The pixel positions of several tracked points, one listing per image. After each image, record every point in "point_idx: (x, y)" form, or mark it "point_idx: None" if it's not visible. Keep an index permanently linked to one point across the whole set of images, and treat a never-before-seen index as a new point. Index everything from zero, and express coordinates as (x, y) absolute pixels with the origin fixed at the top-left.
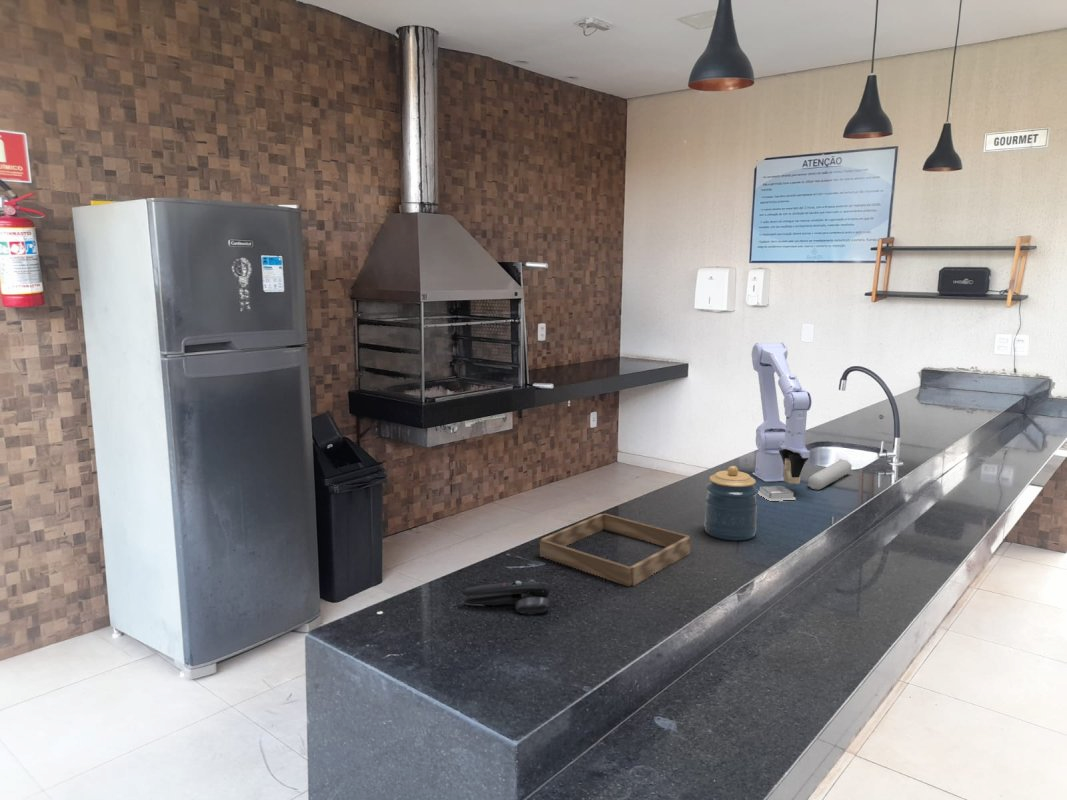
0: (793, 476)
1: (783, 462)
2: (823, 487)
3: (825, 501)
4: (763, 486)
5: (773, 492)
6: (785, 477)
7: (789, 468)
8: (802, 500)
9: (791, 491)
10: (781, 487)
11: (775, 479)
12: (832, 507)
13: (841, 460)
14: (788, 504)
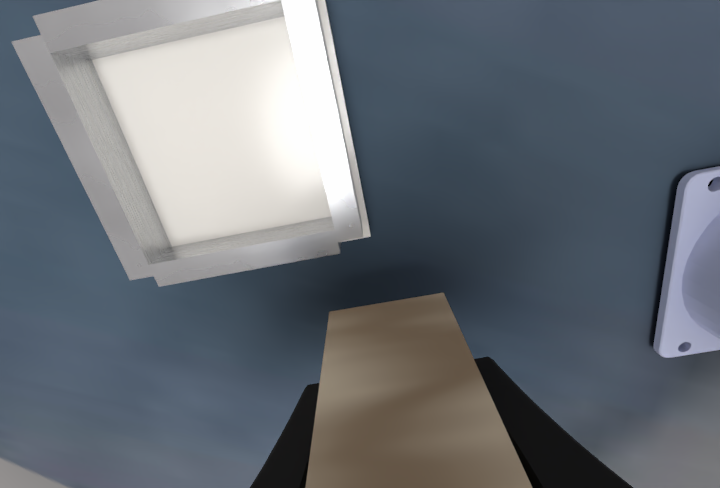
0: (300, 398)
1: (586, 463)
2: None
3: (200, 428)
4: (316, 28)
5: (290, 138)
6: (415, 322)
7: (333, 449)
8: (190, 315)
9: (177, 276)
10: (323, 229)
11: (685, 269)
12: (85, 430)
13: None
14: (51, 189)
